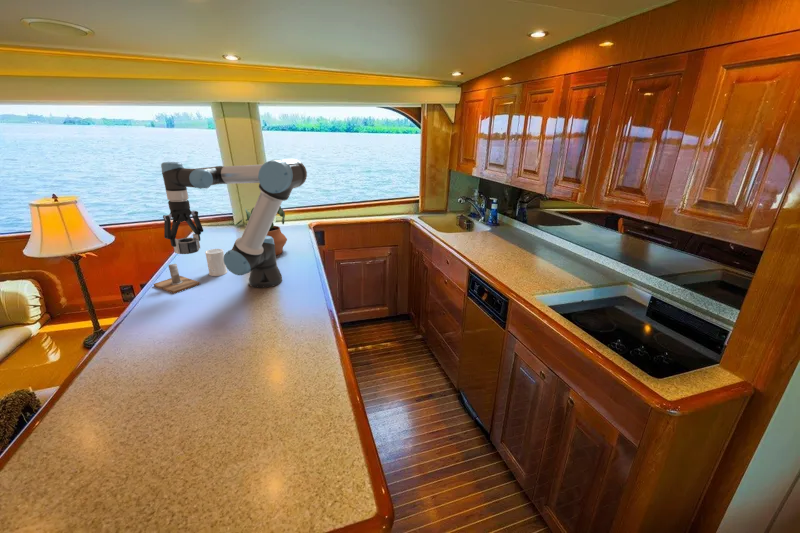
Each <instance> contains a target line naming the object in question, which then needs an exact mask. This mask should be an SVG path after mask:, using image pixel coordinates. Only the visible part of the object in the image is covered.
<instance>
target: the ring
mask: <svg viewBox="0 0 800 533" xmlns="http://www.w3.org/2000/svg"><path fill="white" fill-rule="evenodd" d="M177 239H178V244H179V249H180V254H179V255H189V254H194V253H198V252H199V251H200V249H199V245H198V239H196V238H193V237H182V238H177Z"/></svg>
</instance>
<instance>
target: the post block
mask: <svg viewBox="0 0 800 533" xmlns="http://www.w3.org/2000/svg"><path fill="white" fill-rule="evenodd" d="M168 270H169V273H170V277H171V278H170V277H169V278H167V279H165V280H161V281H159V282H155V283H153V287H156V288H158V289H159V290H160V289H161V290H163V291H167V292H169V293H171V292H172V293H171V294H174V293H175V294H178V293H181V292H182V290H183V291H185V289H186V290H188V288H189V289H191V287H192V288H194V287H197V286H200V285H201V282H200V281H197V280H195V279H192V278H188V277H185V276H182V275H180V273H179V268H178V265H177V264H176V263H172V264H169V265H168ZM199 284H200V285H199ZM196 285H197V286H196ZM180 291H181V292H180ZM177 292H178V293H177Z"/></svg>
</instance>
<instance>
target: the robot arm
mask: <svg viewBox="0 0 800 533" xmlns="http://www.w3.org/2000/svg"><path fill="white" fill-rule="evenodd" d="M160 166H161V167H160V168H161V174H162V179H163V184H164V188H165V193H166V197H167V200H168V202H167V203H168V208H169V211H170V213H169V214H167V215H163V216H162V219H163V221H164V222H163V223H164V225H163V226H164V228H163V229H164V230H163V232H164V239H166V240H170V241H169V242H170V245H171V247H173V250H174V251H173V252H174V253H175V254H178V255H181V254H180V249H179V244H178V239H179V238H176V237H177V233H178V230H179V226H180V224H181V223H183V222H185V223H186V224H188V226H189V228H190V229H191V230H192V232H193V233H192V238H196V239H198V245H199V250H200V249H201V245H200V241H201V234H202V233H203V232H204V228H203V225H202V223H201V220H200V218H199V211H196V210H191V206H190V205H191V204H190V200H189V194H188V189H187V188H194V189H195V188H196V189H209V188H211V186H215V185H228V184H232V185H233V184H258V189H259V191H260V193H259V196H258V198H257V201H256V202H255V204H254V207H253V208H254V209H253V208H252V209H253V211H252V214H251V216H250V218H249V221H247V223H246V224H245V225H246V226H245V228H244V230H243V233H242V235H241V237H238V238H236V240H235V241H234V244H233V245H232V248H231V249H230V250H228V251H226V252H224V264H225V265H226V269H227V271H229V272H230V273H232V274H233V275H236V276H245V275H246V274H249V278H248V283H249V286H251V287H253V288H259V289H260V288H262V289H263V288H265V289H266V288H270V287H275V286H276V285H277V286H278V284H281V283H282V281H283V276H282V273H281V271H280V269H279V267H278V264H277V255H276V254H275V244H274V239H273V238H272V237H271V236H266V235H267V233H268V231H269V229H270V227H271V225H272V222H273V223H274V221H275V219H276V218H275V217H276V214H277V215H278V213H277V212H278V210H279V207H280V206H281V205H282V203H283V202H285V201H287V200H289V198H290V195H291V193H292V192H293V189H297V188H299V187H301V186H302V185H304V183H305V182H306V180H307V177H308V172H307V168H306V166H305V164H303V162H301V161H300V160H299V159H296V158H284V159H280V158H279V159H277V158H276V159H275V158H274V159H272V160H269V161H266V162H265V163H262V164H246V165H243V164H242V165H226V166H223V165H216V166H209V167H199V168H198V167H197V168H187V167H186V168H184V166H183V163H182V162H179V161H165V162H162V163H161V164H160ZM191 216H192V218H191ZM192 219H193V220H192ZM273 220H274V221H273Z"/></svg>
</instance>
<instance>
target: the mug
mask: <svg viewBox="0 0 800 533" xmlns="http://www.w3.org/2000/svg"><path fill="white" fill-rule="evenodd" d="M204 253H205V258H206V263H207V267H208V275H209V276H211V277H219V276H223V275H226V274H227V273H228V271H229V270H228V269H227V267H226V265H225V264H224V255H225V252H224V249H222V248H213V249H212V248H210V249H208V250H206V251H205V252H204Z"/></svg>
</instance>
